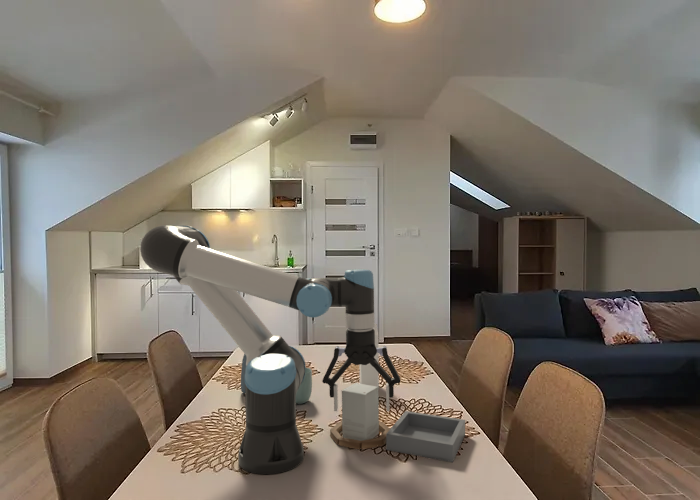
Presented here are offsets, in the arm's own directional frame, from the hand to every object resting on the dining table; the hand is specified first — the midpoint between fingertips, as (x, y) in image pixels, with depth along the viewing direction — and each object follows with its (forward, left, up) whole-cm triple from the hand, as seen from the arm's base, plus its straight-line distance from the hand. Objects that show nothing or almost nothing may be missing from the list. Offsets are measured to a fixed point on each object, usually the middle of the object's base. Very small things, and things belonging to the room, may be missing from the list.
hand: (361, 409), depth 122 cm
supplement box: (0, 0, -7) cm, 7 cm away
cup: (+16, +28, -7) cm, 33 cm away
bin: (+3, -17, -7) cm, 18 cm away
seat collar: (0, 0, -7) cm, 7 cm away
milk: (+38, +13, -7) cm, 41 cm away
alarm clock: (+24, +45, -7) cm, 51 cm away
